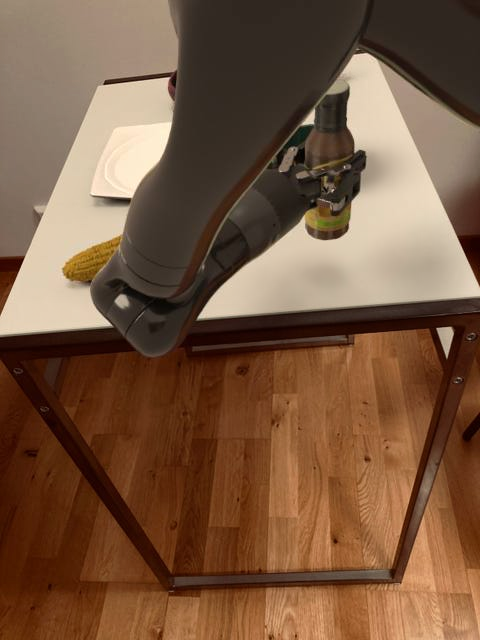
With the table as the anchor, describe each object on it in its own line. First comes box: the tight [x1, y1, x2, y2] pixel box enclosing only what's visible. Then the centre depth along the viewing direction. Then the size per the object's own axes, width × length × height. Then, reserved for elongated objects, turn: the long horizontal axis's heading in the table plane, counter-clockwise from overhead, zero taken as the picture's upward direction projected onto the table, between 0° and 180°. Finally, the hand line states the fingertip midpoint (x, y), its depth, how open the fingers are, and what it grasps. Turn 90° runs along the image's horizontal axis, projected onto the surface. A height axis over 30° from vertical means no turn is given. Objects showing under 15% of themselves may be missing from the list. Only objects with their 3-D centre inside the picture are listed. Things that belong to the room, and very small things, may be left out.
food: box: [61, 234, 122, 282], centre depth 82 cm, size 21×6×6 cm, turn 113°
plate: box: [89, 121, 172, 201], centre depth 104 cm, size 29×29×3 cm
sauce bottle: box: [304, 78, 356, 241], centre depth 64 cm, size 6×6×20 cm
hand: (339, 149), depth 64 cm, fingers closed on sauce bottle, 6 cm apart
